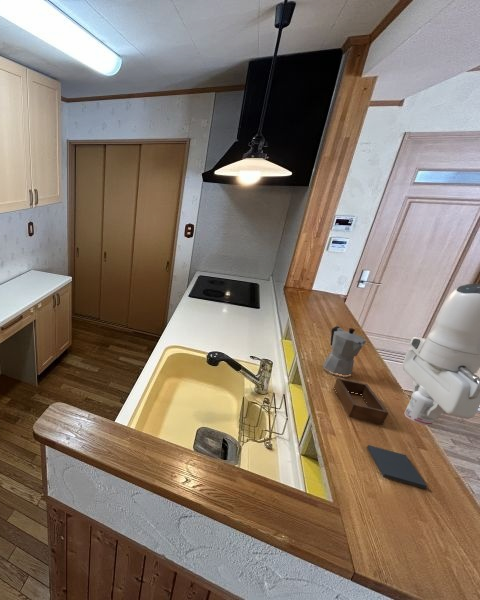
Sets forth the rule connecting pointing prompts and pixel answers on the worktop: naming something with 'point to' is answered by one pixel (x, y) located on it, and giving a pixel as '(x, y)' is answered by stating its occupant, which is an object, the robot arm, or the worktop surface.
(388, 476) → the rubber mat
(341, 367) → the coffeepot
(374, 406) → the storage crate
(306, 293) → the worktop surface
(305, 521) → the worktop surface
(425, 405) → the pill bottle
